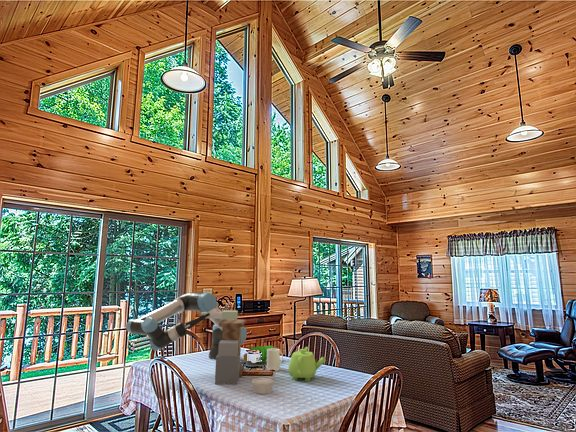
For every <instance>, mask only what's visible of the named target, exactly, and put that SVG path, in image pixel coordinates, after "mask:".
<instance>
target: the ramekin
mask: <svg viewBox="0 0 576 432" xmlns="http://www.w3.org/2000/svg"><path fill="white" fill-rule="evenodd" d="M274 382H275V381H274V379H271V378H266V377H261V378H260V377H258V378H254V379H252V381H251V384H252V391H253V392H254V393H255V394H258V395H268V394H270V393H271V392H273V386H274Z"/></svg>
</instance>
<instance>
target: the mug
mask: <svg viewBox="0 0 576 432" xmlns="http://www.w3.org/2000/svg"><path fill="white" fill-rule="evenodd" d="M276 348H277V347H275V348H270V349H267V360H266V367H267V368H270V369H274V370H275V371H274V372H278V371H280V370H281V368H280V367H281V366H280V365H281V363H282V361H283V359H284V354H283V353H282V351H281V349H279V348H277V349H276ZM280 355H281V357H280ZM280 358H281V359H280Z"/></svg>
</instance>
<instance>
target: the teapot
mask: <svg viewBox="0 0 576 432" xmlns="http://www.w3.org/2000/svg"><path fill="white" fill-rule="evenodd" d="M308 349H309V348H308V346H305V347H304V348H300V349H299V351H297V350H296V351H294V352H293V353H292V354H291V357H290V360H289V362H288V363H289V364H288V373H289V374H288V375H290V377H292V378H291V380H292V381H297V380H298V379H300V378H301V379H304V380H305V382H311V378H313V377H315V375H316V374H317V373H316V372H317V370H318V369H319V368H320V367H321V366H322V365H323V364H324V363H325V362H327V360H326V358H325V357H324V356H322V357H321V358H320V359H319V360H318V361H317V362H316V359H315V355H314V353H313V352H312V351H309V350H308Z"/></svg>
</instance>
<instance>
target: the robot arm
mask: <svg viewBox="0 0 576 432" xmlns="http://www.w3.org/2000/svg"><path fill="white" fill-rule="evenodd" d="M187 311H188V312H189V311H191V312H198V313H199V314H200V316H199V317H197V318H195V319H191V320H190V321H187V322H185V324H184V323H183V322H181V321H180V322H179V323H176V324H175V325H173V326H171V327H169V328H168V329H166V330H164V329H163V328H162V327H161V325H160V324H159V323H161V322H162V321H165V320H167V319H168V318H171V317H172V316H174V315H176V314H182V313H184V312H187ZM222 311H223V310H221V309H220V308H219V307H218V301H217V297H216V295H214V294H213V293H210V292H197V291H191V292H188V293H183V294H182V295H180V296H178V297H176V298H174V299H173V301H171V302H170V303H167V304H165V305H164V306H162V307H159V308H158V309H155V310H153V311H151V312H150V313H147V314H145V315H144V316H141V317H139V318H137V319H136V318H133V319H130V320H129V321H127V323H126V326H125V327H126V331H127V332H128V333H129V334H133V335H142V336H148V337H149V338H150V339H149V345H150V347H151V349H152V350H153V351H159V350H161V349H163V348H165V347H166V346H168V345H170V344H171V343H174V342H177V341H178V340H179V339H180V338H182V337H184V336H186V335H187V334H188V331H187V330H191V329H192V328H193V327H196V325H197V324H198V323H201V322H202V321H206V319H209V320H210V321H211V322H213V323H214V324H213V325H212V331H211V333H212V335H211V336H212V337H211V348H210V351H209V353H208V358H209V359H212V360H216V356H217V355H218V349H219V342H220V341H221V340H222V329H223V327H219V323H220V322H221V321H222V320H223V319H215V318H208V317H210V316H212V315H213V314H215V313H216V312H217V313H222ZM202 312H207V313H205V314H203V315H202V316H201V313H202ZM247 333H248V332H247V329H246V327H244V326H243V327H241V345H243V344H244V343H245V341H246V339H247V336H248V335H247Z"/></svg>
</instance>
